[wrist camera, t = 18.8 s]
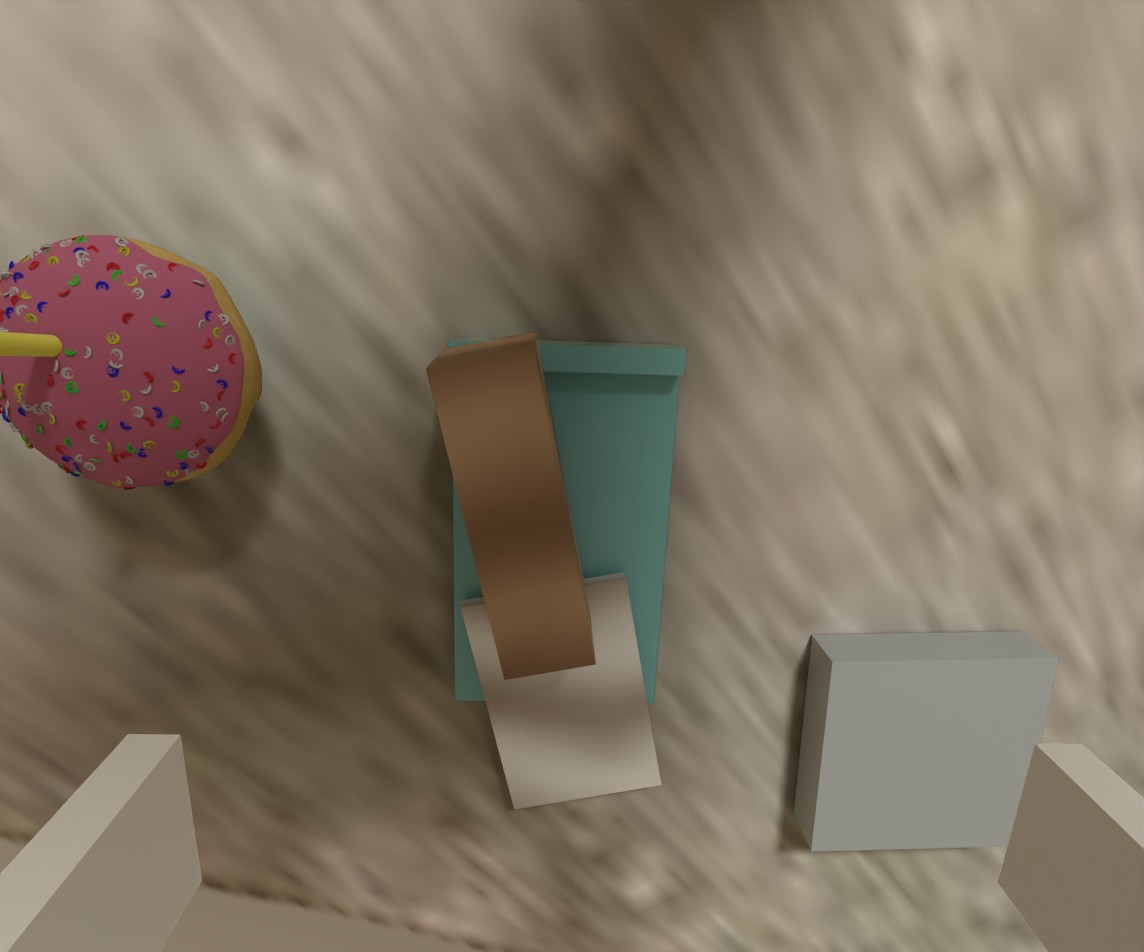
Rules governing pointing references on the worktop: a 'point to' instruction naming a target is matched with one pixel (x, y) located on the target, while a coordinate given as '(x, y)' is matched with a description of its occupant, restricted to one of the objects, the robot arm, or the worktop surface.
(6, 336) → the cupcake
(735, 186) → the worktop surface
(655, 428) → the rest
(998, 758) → the tile
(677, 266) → the worktop surface
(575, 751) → the turner
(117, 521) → the worktop surface
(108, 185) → the worktop surface
